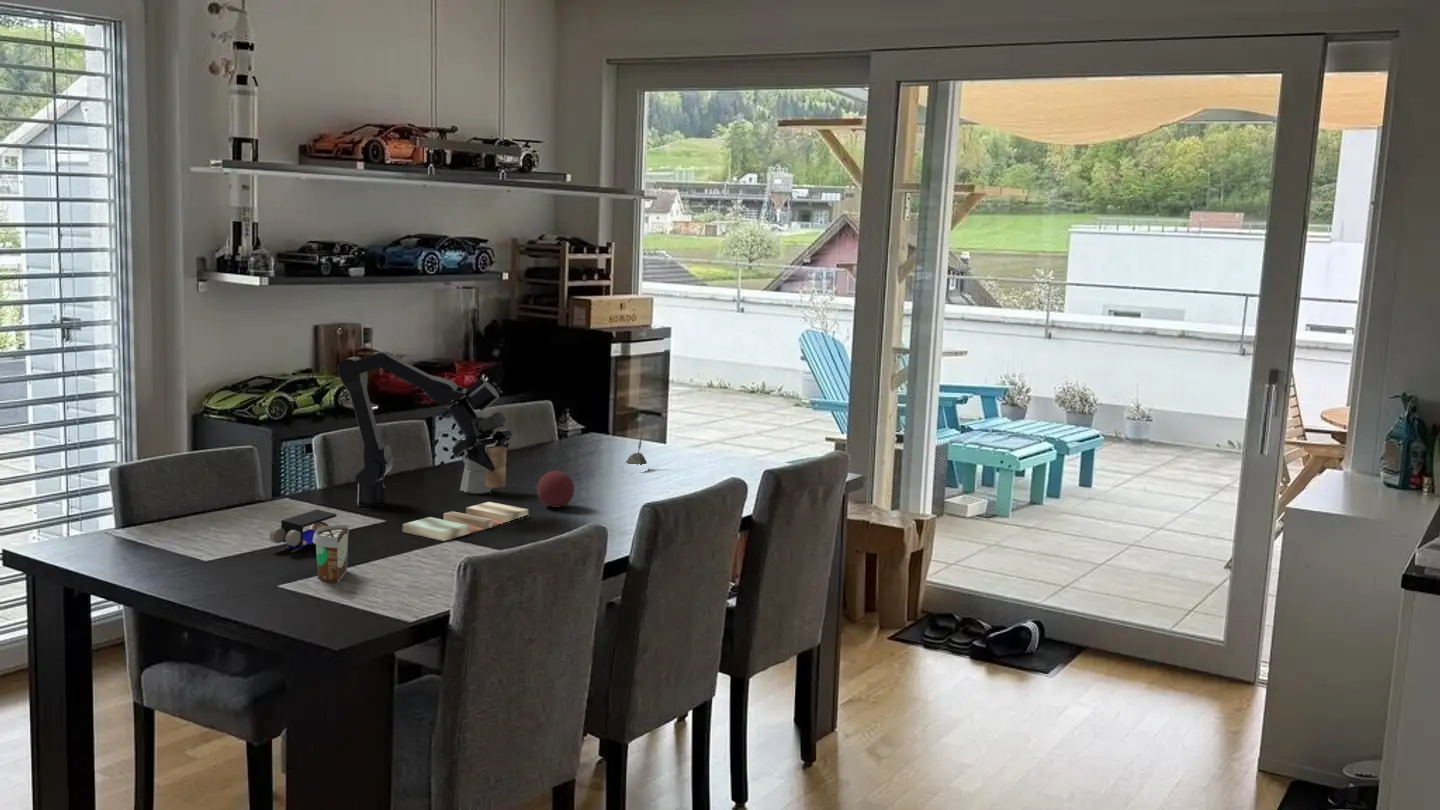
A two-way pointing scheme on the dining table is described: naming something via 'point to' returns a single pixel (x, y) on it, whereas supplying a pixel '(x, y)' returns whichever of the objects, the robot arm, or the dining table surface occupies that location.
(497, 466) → the walnut cylinder
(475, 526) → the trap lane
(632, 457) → the sword in stone
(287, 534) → the figurine character
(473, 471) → the coffeepot
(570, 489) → the decorative ball
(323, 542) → the food container
